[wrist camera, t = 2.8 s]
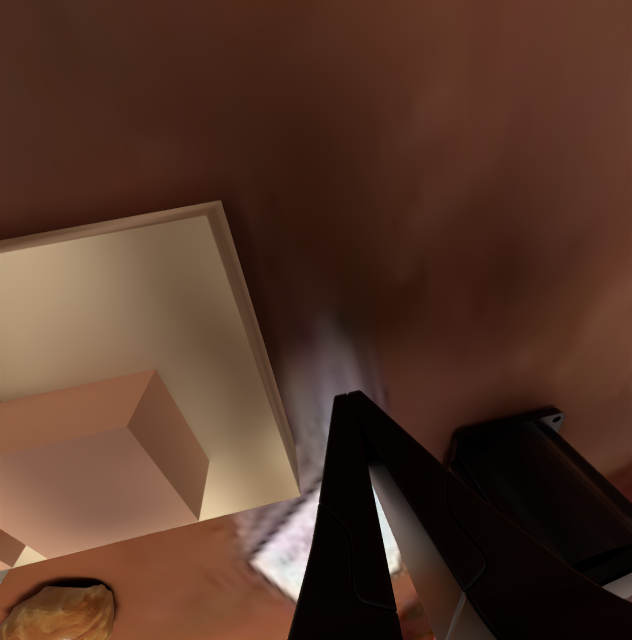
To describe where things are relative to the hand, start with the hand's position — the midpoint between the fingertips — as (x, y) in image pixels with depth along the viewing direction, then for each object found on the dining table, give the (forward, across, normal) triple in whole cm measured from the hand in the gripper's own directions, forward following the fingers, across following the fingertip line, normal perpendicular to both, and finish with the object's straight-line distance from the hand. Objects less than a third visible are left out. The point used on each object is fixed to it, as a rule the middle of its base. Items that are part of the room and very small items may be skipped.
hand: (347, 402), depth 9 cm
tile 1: (+1, +8, 0) cm, 8 cm away
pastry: (+4, +21, +18) cm, 28 cm away
